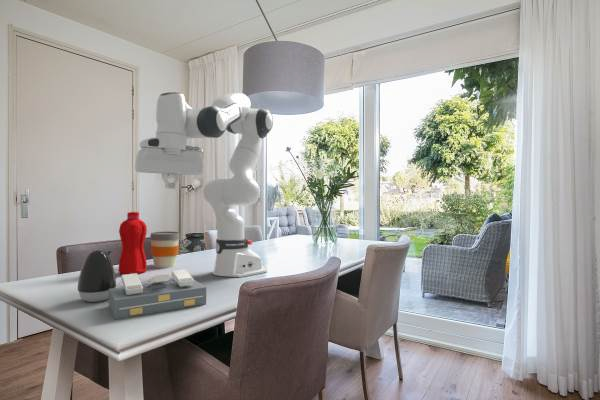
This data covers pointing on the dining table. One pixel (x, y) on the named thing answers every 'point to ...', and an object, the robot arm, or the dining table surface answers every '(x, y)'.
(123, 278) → the rocker
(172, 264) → the reusable coffee cup
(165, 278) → the block
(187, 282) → the rocker
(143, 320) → the dining table surface
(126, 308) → the console
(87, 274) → the black rounded dome
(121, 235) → the water bottle
